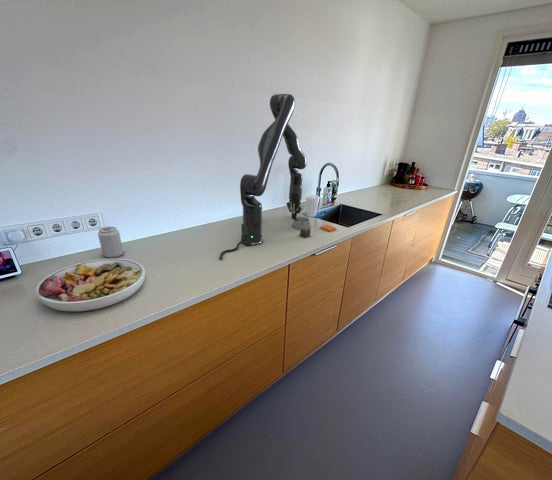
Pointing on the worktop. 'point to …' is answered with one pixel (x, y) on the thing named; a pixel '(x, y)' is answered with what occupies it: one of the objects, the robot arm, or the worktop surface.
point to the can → (110, 242)
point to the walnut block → (305, 232)
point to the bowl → (91, 284)
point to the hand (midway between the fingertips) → (293, 219)
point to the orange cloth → (328, 228)
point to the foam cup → (311, 205)
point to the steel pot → (301, 222)
